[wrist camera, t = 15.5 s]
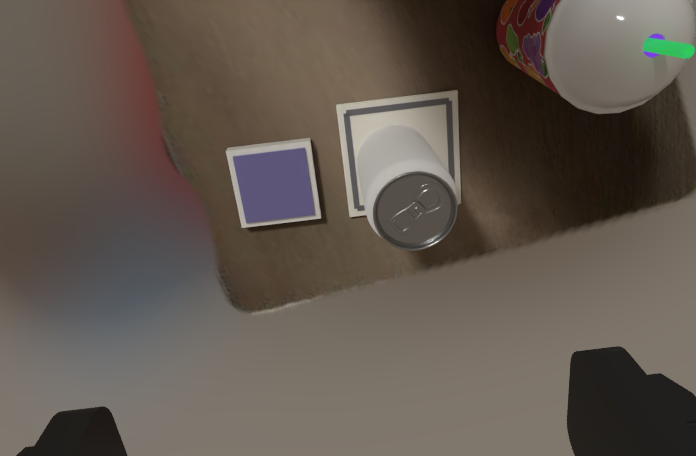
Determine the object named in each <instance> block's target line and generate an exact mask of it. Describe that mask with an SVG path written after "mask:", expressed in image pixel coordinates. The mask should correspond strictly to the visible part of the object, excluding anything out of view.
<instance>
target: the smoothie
mask: <svg viewBox="0 0 696 456" xmlns="http://www.w3.org/2000/svg"><path fill="white" fill-rule="evenodd" d="M695 34H696V18H695V9H694V7H693V3H692V0H506V2H505V3H504V5H503V6H502V8H501V11H500V14H499V17H498V20H497V29H496V38H497V41H498V45H499V48H500V51H501V52H502V54H503V55H504V57H505V58H506V59H507V61H508V62H510V63H511V64H513V65H514V66H515V67H517V68H518V69H520V70H522V71H523V72H525V73H526V74H528V75H529V76H531V77H533V78H534V79H536V80H537V81H539V82H540V83H542V84H543V85H545V86H546V87H548V88H550V89H551V90H553V91H554V92H556V93H557V94H559V95H560V96H561V97H563V98H564V99H566V100H567V101H568V102H570V103H571V104H572V105H574V106H575V107H576V108H578V109H581V110H585V111H588V112H592V113H595V114H609V113H621V112H623V111H626V110H629V109H632V108H634V107H637V106H640V105H642V104H644V103H645V102H646V101H648V100H649V99H651V98H652V97H653V96H655V95H656V94H658V93H659V92H660V91H662V90H663V89H664V88H665V87H667V86H668V85H669V84H670V83H671V82H672V81H673V80H674V78H675V77H676V76H677V75H678V74H679V73H680V71H681V70H682V69H683V68H684V66H685V63H686V61H687V59H688V58H690V57H691V56H692V55H693V54H694V51H695V49H694V46H693V44H694V39H695Z"/></svg>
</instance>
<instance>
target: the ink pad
mask: <svg viewBox="0 0 696 456" xmlns="http://www.w3.org/2000/svg"><path fill="white" fill-rule="evenodd" d="M226 154H227V159H228V164H229V168H230V173H231V178H232V183H233V188H234V192H235V197H236V202H237V207H238V212H239V216H240V221H241V226H242V228H246V227H254V226H263V225H271V224H279V223H288V222H296V221H304V220H312V219H321V210H320V203H319V196H318V189H317V182H316V175H315V168H314V161H313V154H312V147H311V140H310V138H304V139H296V140H288V141H280V142H271V143H263V144H255V145H247V146H239V147H230V148H227V150H226Z"/></svg>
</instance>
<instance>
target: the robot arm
mask: <svg viewBox="0 0 696 456" xmlns="http://www.w3.org/2000/svg"><path fill="white" fill-rule="evenodd" d="M567 428H568V434H569V439H570V443H571V446H572V449H573V451H574V454H575V456H696V397H695V396H694V394H693V393H691V392H690V391H688V390H687V389H685V388H683V387H682V386H680V385H678V384H677V383H675V382H674V381H672V380H670V379H669V378H667V377H666V376H664V375H662V374H661V373H660V374H651V375H646V373H645V372H644V371H643V370H642V369H641V367H640V366H639V365H638V364H637V363H636V361H635V360H634V359H633V358H632V357H631V356H630V354H629V353H628V352H627V351H626V350H625V349H624V348H622V347H609V348H602V349H593V350H585V351H576V352H574V353H573V355H572V357H571V363H570V379H569V395H568V411H567ZM16 456H127V453H126V450H125V448H124V445H123V442H122V440H121V437H120V434H119V432H118V429H117V426H116V424H115V421H114V418H113V416H112V413H111V412H110V410H109V409H108V408H106V407H95V408H86V409H78V410H70V411H62V412H59V413H57V414H56V415H55V416H53V418H52V419H51V420H50V422H49V424H48V425H47V427H46V429H45V430H44V432H43V433H42V435H41V436H40V438H39V440H38V441H37V443H36V444H35V446H32V447H25V448H24V449H23V450H22V451H21V452H20V453H19V454H17V455H16Z"/></svg>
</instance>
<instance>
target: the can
mask: <svg viewBox="0 0 696 456" xmlns="http://www.w3.org/2000/svg"><path fill="white" fill-rule="evenodd" d="M357 171H358V177H359V182H360V188H361V193H362V198H363V203H364V208H365V212H366V216H367V218H368V221H369V223H370V225H371V226H372V228H373V229H374V231H375V232H376V233H377V234H378V235H379V236H380V237H382V238H383V239H384V240H385V241H386V242H387V243H389V244H390V245H392V246H394V247H396V248H399V249H402V250H408V251H417V250H423V249H427V248H429V247H432V246H434V245H436V244H437V243H439V242H440V241H442V240H443V239H444V238H445V237H446V236H447V235H448V234H449V232H450V231H451V229H452V228H453V226H454V224H455V221H456V218H457V212H458V192H457V188H456V185H455V183H454V180H453V179H452V177H451V175H450V174H449V172H448V170H447V169H446V167H445V166H444V164H443V163H442V161H441V160H440V159H439V157H438V156H437V154H436V153H435V151H434V150H433V148H432V147H431V145H430V144H429V143H428V141H427V140H426V139H425V138H424V137H423V136H422V135H421V134H420V133H419V132H418V131H416V130H415V129H413V128H411V127H408V126H405V125H399V124H393V125H387V126H383V127H381V128H378V129H377V130H375V131H373V132H372V133H371V134H370V135H369V136H368V137H367V138H366V139H365V140H364V141H363V143H362V145H361V147H360V149H359V152H358V155H357Z"/></svg>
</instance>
